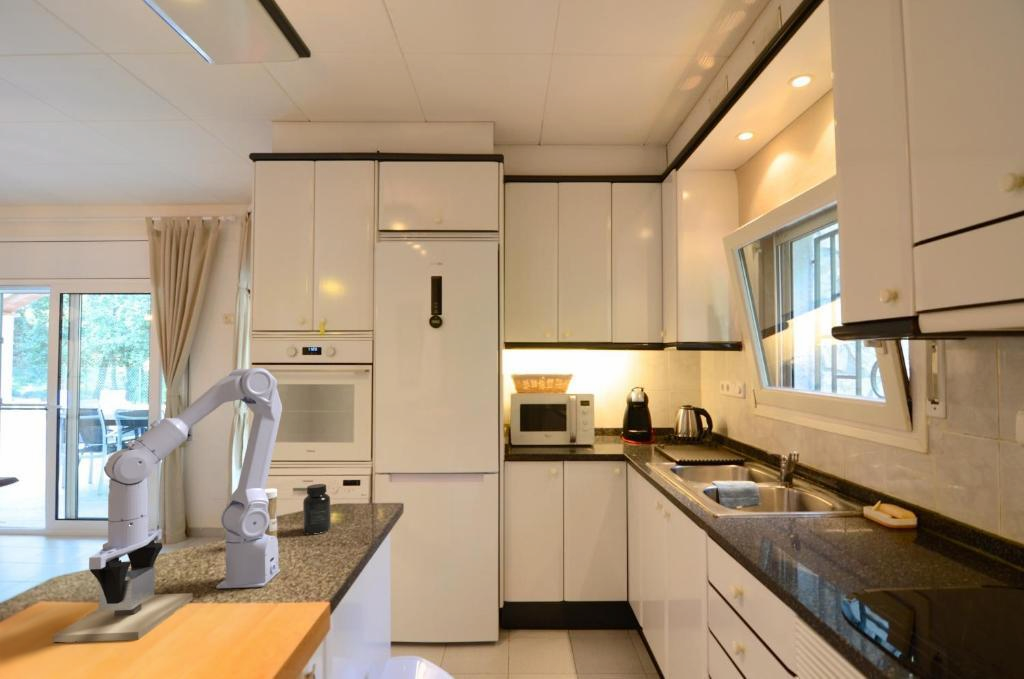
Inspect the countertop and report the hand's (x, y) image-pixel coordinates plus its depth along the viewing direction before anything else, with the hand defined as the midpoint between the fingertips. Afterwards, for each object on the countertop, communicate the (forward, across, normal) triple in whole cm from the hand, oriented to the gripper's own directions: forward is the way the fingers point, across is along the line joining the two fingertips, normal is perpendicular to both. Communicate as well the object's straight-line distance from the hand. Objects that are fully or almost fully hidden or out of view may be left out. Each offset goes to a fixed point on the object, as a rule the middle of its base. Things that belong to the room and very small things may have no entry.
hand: (128, 594), depth 89 cm
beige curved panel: (+4, 0, 0) cm, 4 cm away
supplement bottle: (+4, -46, +16) cm, 49 cm away
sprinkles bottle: (+4, -37, +7) cm, 38 cm away
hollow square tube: (+1, 0, 0) cm, 1 cm away
